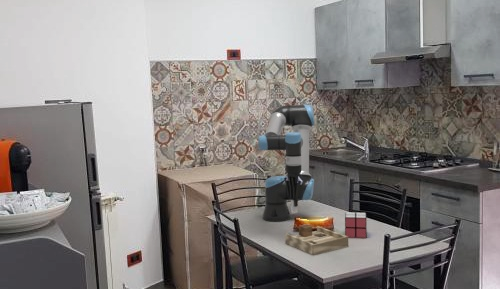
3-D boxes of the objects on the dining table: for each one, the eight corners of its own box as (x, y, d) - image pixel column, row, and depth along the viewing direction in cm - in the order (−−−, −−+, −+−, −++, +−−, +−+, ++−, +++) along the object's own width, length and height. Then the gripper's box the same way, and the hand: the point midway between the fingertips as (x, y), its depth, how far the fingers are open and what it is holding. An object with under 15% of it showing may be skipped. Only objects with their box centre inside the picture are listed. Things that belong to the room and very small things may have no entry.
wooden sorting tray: (285, 243, 236) (285, 233, 236) (318, 235, 247) (318, 226, 246) (313, 255, 218) (313, 245, 218) (348, 246, 229) (348, 236, 228)
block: (298, 235, 240) (298, 225, 239) (306, 233, 242) (306, 224, 242) (304, 237, 236) (304, 227, 235) (312, 235, 238) (312, 226, 238)
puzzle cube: (366, 238, 240) (366, 217, 239) (345, 237, 242) (345, 217, 241) (366, 232, 250) (366, 212, 249) (345, 231, 252) (345, 212, 251)
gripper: (279, 163, 246) (280, 211, 248) (295, 166, 235) (296, 216, 237) (291, 162, 250) (292, 209, 252) (308, 165, 239) (308, 214, 241)
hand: (294, 212), depth 245 cm, fingers closed
